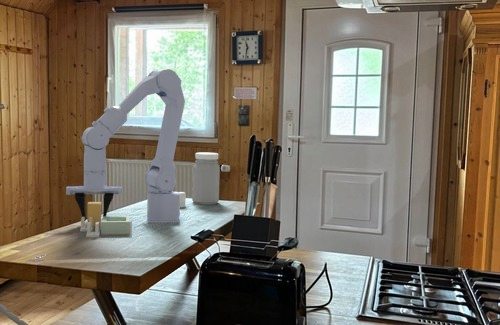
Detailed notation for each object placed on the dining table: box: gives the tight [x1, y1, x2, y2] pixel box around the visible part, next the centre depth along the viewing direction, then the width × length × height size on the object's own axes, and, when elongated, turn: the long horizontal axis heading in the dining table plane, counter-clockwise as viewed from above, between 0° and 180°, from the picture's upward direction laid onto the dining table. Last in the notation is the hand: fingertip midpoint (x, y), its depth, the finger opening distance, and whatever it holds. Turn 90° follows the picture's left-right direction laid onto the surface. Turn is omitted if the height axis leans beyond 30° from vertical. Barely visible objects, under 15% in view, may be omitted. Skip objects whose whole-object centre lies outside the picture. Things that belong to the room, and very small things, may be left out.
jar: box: [191, 151, 221, 206], centre depth 181 cm, size 10×10×18 cm
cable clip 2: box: [86, 222, 100, 237], centre depth 126 cm, size 3×3×3 cm
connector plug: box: [86, 201, 102, 226], centre depth 138 cm, size 3×3×6 cm
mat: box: [76, 221, 133, 240], centre depth 133 cm, size 13×18×1 cm
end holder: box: [101, 215, 131, 235], centre depth 132 cm, size 7×7×3 cm
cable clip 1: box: [79, 216, 93, 232], centre depth 132 cm, size 3×3×3 cm
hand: (94, 220), depth 138 cm, fingers open, 5 cm apart
